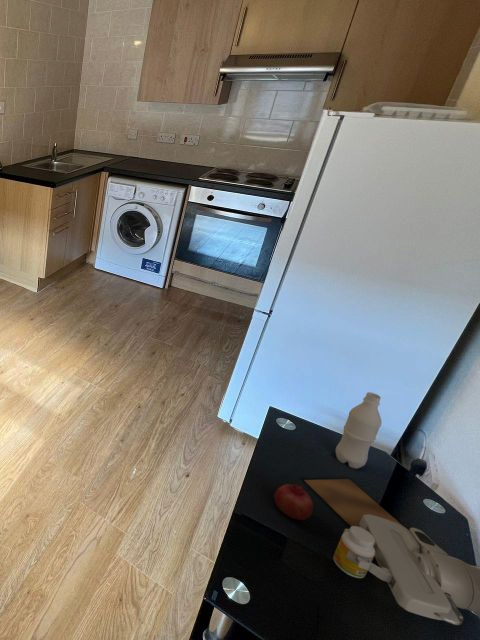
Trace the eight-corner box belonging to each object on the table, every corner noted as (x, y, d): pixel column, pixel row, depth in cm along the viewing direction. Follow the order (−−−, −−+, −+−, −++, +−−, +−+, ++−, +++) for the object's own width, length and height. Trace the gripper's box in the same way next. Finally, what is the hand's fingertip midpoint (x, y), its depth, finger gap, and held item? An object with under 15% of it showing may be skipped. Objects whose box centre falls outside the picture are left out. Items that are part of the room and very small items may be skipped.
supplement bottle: (334, 549, 94) (346, 517, 91) (365, 566, 90) (379, 534, 87) (331, 566, 90) (344, 533, 87) (364, 584, 86) (379, 551, 83)
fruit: (299, 533, 104) (310, 503, 101) (265, 508, 111) (274, 479, 108) (314, 519, 108) (324, 490, 105) (280, 496, 114) (289, 468, 112)
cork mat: (406, 532, 105) (407, 529, 105) (355, 534, 104) (356, 531, 104) (348, 481, 120) (349, 478, 120) (303, 482, 119) (304, 479, 119)
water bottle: (331, 450, 132) (355, 385, 124) (361, 460, 128) (387, 393, 120) (334, 464, 126) (359, 396, 119) (365, 475, 122) (393, 406, 115)
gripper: (463, 640, 75) (366, 604, 81) (406, 543, 93) (330, 519, 98) (476, 617, 73) (377, 581, 79) (416, 523, 91) (338, 499, 96)
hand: (351, 546), depth 89 cm, fingers closed on supplement bottle, 5 cm apart
